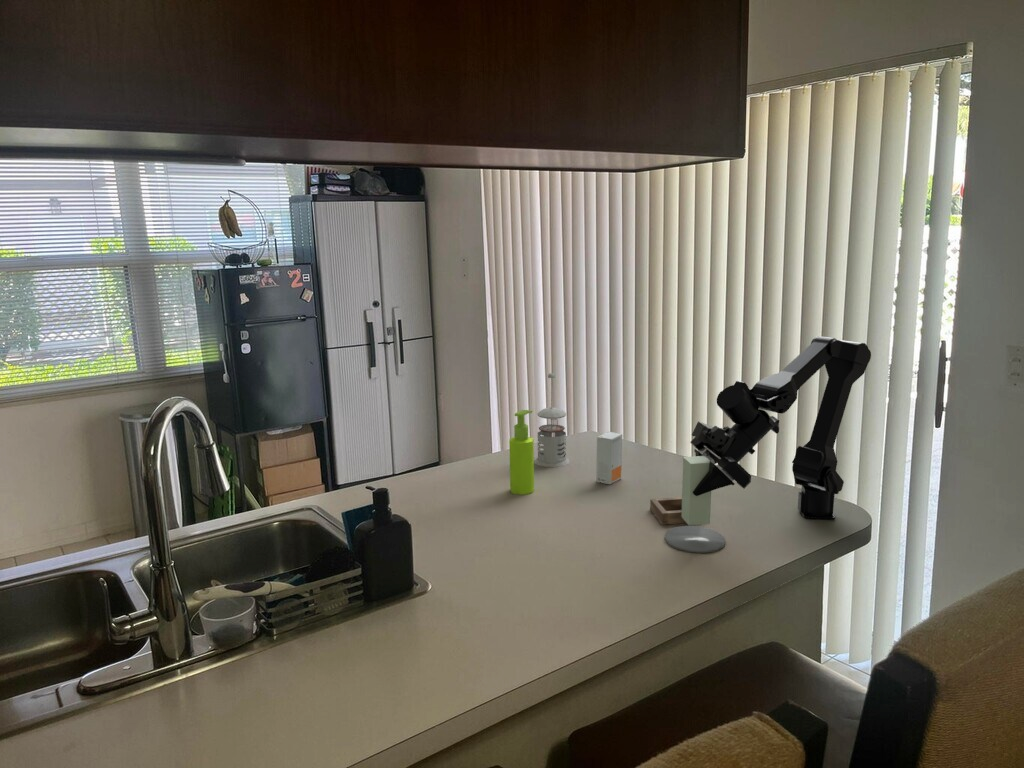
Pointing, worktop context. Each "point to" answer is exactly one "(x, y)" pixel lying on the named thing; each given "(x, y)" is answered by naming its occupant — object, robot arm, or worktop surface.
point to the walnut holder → (665, 504)
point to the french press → (552, 438)
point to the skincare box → (609, 458)
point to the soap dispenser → (521, 458)
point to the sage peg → (693, 506)
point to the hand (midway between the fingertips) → (690, 490)
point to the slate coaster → (694, 539)
